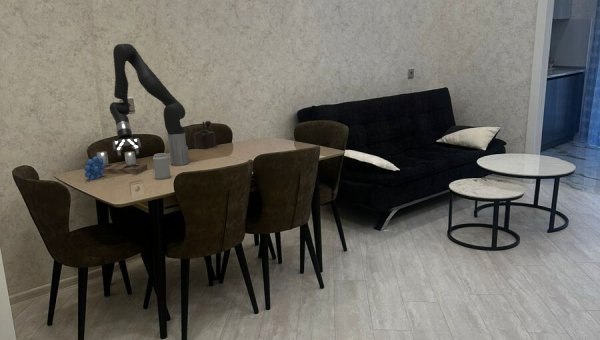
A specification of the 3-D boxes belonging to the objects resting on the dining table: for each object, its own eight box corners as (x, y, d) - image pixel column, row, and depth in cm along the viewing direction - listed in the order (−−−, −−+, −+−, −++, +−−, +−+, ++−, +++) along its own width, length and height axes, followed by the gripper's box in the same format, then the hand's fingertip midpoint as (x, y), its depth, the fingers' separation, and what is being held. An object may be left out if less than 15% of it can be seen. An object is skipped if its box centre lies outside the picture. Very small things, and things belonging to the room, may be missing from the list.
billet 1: (111, 169, 273) (108, 151, 271) (105, 172, 268) (103, 153, 266) (102, 169, 274) (100, 151, 272) (97, 172, 269) (94, 153, 267)
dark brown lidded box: (193, 148, 330) (190, 120, 325) (205, 145, 338) (203, 118, 334) (210, 150, 321) (207, 121, 317) (222, 146, 329) (220, 119, 325)
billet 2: (138, 169, 270) (136, 151, 268) (133, 172, 265) (131, 153, 263) (130, 170, 271) (127, 151, 269) (125, 172, 266) (122, 153, 264)
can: (173, 177, 255) (171, 153, 252) (160, 180, 250) (158, 156, 247) (165, 175, 260) (162, 151, 257) (152, 178, 255) (149, 154, 252)
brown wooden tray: (147, 170, 272) (146, 164, 271) (137, 175, 262) (136, 169, 261) (100, 170, 278) (99, 164, 277) (88, 175, 267) (87, 168, 267)
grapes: (101, 176, 263) (98, 153, 260) (109, 178, 259) (106, 154, 257) (80, 182, 254) (77, 158, 251) (89, 183, 250) (85, 159, 247)
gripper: (110, 129, 274) (114, 153, 266) (137, 126, 279) (142, 150, 272) (110, 137, 280) (115, 161, 272) (137, 134, 285) (142, 158, 278)
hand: (128, 156), depth 272 cm, fingers open, 8 cm apart
